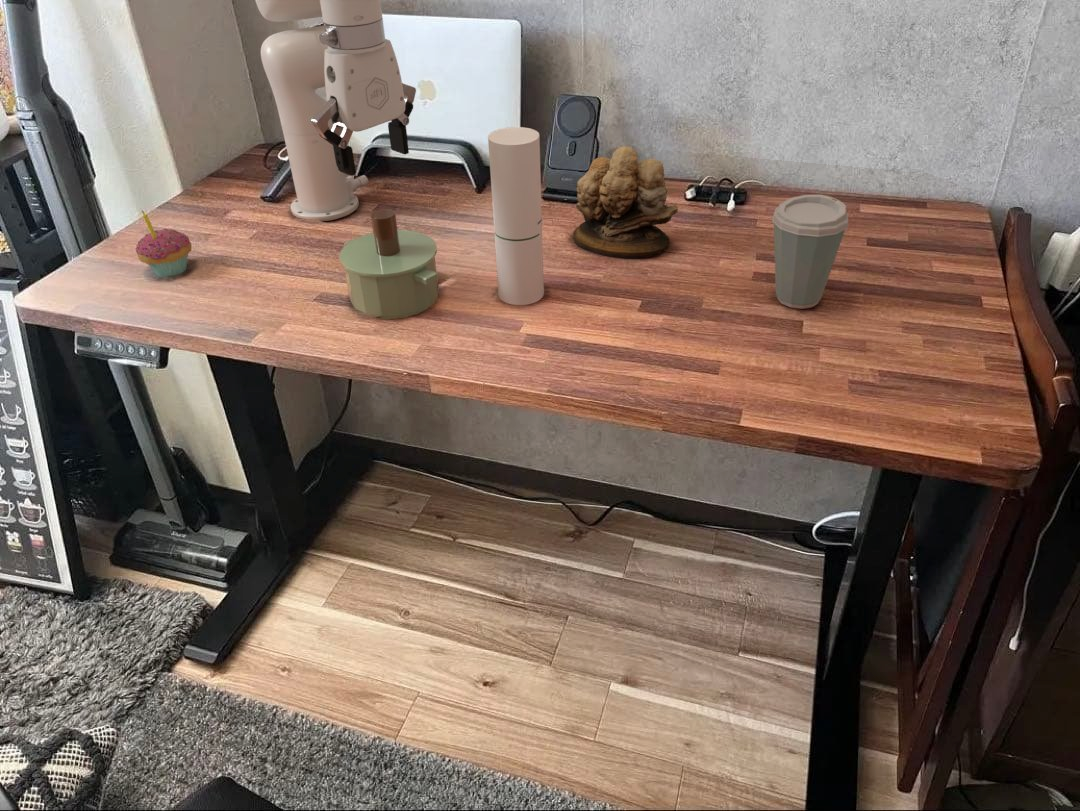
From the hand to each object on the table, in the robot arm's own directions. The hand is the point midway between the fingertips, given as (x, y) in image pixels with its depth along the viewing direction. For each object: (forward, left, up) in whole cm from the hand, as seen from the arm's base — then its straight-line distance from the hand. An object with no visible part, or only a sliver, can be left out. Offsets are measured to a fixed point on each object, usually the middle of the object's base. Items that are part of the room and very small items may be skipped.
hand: (374, 162), depth 120 cm
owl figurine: (-37, +17, -22) cm, 46 cm away
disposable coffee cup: (-38, +49, -22) cm, 66 cm away
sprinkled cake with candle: (+18, -36, -22) cm, 46 cm away
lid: (0, 0, -14) cm, 14 cm away
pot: (0, 0, -22) cm, 22 cm away
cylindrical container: (-13, +15, -22) cm, 30 cm away
